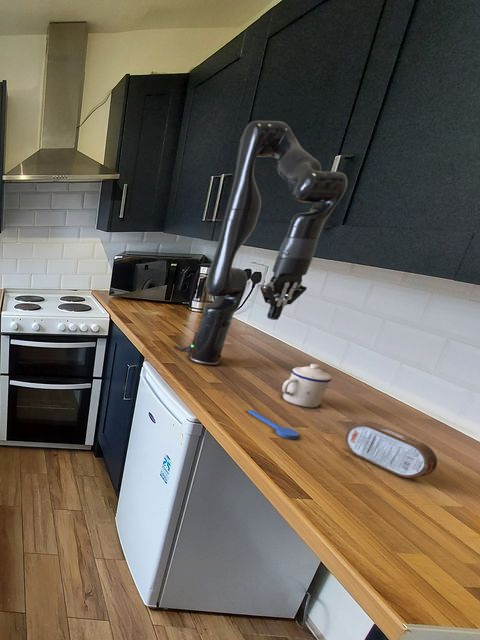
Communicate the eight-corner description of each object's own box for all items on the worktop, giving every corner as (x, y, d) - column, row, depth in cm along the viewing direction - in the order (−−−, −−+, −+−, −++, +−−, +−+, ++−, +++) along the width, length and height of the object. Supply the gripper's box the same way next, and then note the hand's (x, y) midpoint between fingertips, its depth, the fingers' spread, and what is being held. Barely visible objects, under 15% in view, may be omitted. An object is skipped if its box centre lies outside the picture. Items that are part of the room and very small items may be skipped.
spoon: (242, 412, 110) (243, 409, 110) (256, 412, 111) (257, 408, 110) (286, 439, 97) (287, 436, 97) (301, 438, 98) (303, 435, 98)
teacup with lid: (300, 394, 123) (314, 358, 118) (327, 408, 115) (345, 370, 110) (265, 395, 121) (278, 359, 117) (290, 409, 113) (306, 371, 108)
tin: (426, 484, 83) (447, 450, 79) (416, 487, 82) (437, 452, 79) (345, 445, 96) (361, 414, 92) (336, 447, 95) (351, 416, 92)
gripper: (303, 254, 111) (281, 315, 118) (261, 253, 109) (241, 315, 116) (329, 257, 104) (304, 322, 111) (285, 256, 102) (262, 322, 109)
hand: (272, 319), depth 114 cm, fingers closed
